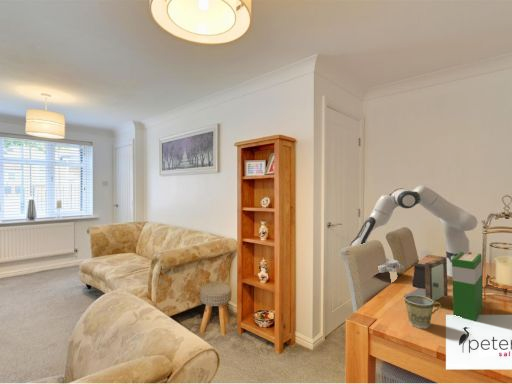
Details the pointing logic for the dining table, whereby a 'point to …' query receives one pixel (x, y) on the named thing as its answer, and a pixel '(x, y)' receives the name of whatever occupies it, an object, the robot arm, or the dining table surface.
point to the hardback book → (467, 285)
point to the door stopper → (419, 276)
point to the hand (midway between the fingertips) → (399, 268)
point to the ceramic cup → (420, 310)
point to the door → (437, 282)
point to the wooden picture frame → (429, 275)
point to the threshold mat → (418, 292)
